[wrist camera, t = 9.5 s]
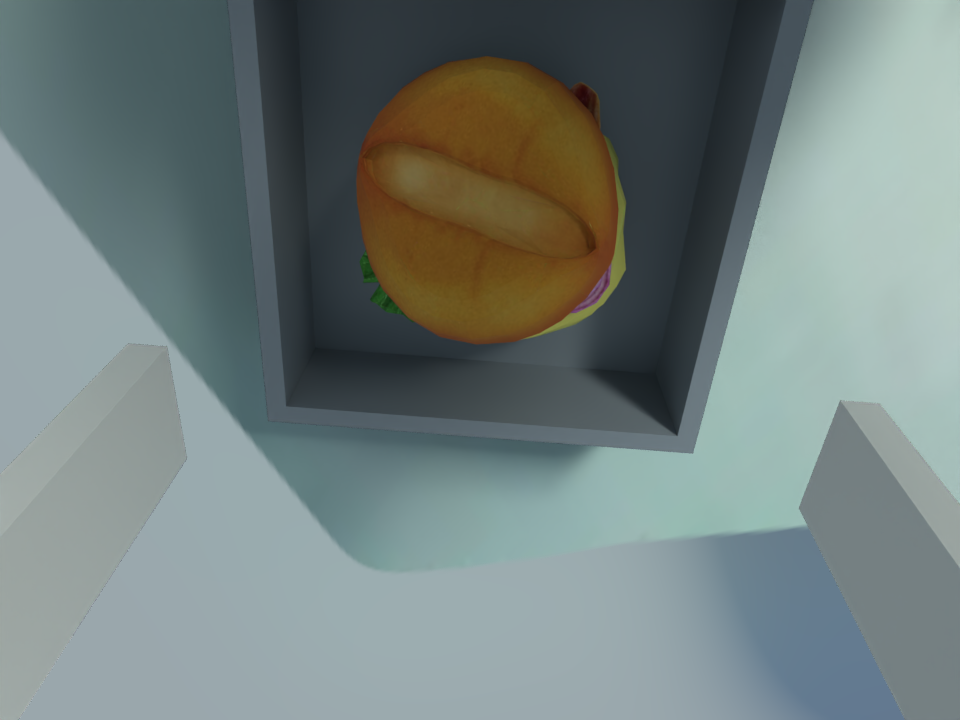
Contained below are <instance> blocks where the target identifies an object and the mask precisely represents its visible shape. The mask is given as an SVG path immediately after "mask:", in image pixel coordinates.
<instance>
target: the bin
mask: <svg viewBox="0 0 960 720" xmlns="http://www.w3.org/2000/svg"><path fill="white" fill-rule="evenodd" d="M813 1H814V0H227V3H228V13H229V24H230V34H231V44H232V55H233V65H234V75H235V85H236V96H237V106H238V116H239V127H240V137H241V147H242V158H243V168H244V178H245V188H246V199H247V209H248V219H249V230H250V240H251V250H252V261H253V271H254V281H255V291H256V302H257V312H258V322H259V333H260V343H261V353H262V364H263V374H264V384H265V394H266V405H267V415H268V421H272V422H285V423H299V424H312V425H325V426H338V427H351V428H364V429H377V430H391V431H404V432H417V433H430V434H443V435H456V436H469V437H483V438H496V439H509V440H522V441H535V442H548V443H561V444H574V445H588V446H601V447H614V448H627V449H640V450H653V451H666V452H680V453H693V451H694V448H695V444H696V440H697V436H698V433H699V429H700V425H701V421H702V418H703V414H704V410H705V406H706V403H707V399H708V395H709V391H710V388H711V384H712V380H713V376H714V373H715V369H716V365H717V361H718V358H719V354H720V350H721V346H722V343H723V339H724V335H725V331H726V328H727V324H728V320H729V316H730V313H731V309H732V305H733V301H734V298H735V294H736V290H737V286H738V283H739V279H740V275H741V271H742V268H743V264H744V260H745V256H746V253H747V249H748V245H749V241H750V238H751V234H752V230H753V226H754V223H755V219H756V215H757V211H758V208H759V204H760V200H761V196H762V193H763V189H764V185H765V181H766V178H767V174H768V170H769V166H770V163H771V159H772V155H773V151H774V148H775V144H776V140H777V136H778V133H779V129H780V125H781V121H782V118H783V114H784V110H785V106H786V103H787V99H788V95H789V91H790V88H791V84H792V80H793V76H794V73H795V69H796V65H797V61H798V58H799V54H800V50H801V46H802V43H803V39H804V35H805V31H806V28H807V24H808V20H809V16H810V13H811V9H812V5H813ZM484 56H490V57H496V58H502V59H508V60H515V61H521V62H527V63H529V64H531V65H533V66H535V67H536V68H538V69H540V70H542V71H543V72H545V73H547V74H549V75H550V76H552V77H554V78H556V79H557V80H559V81H561V82H562V83H564V84H565V85H566V86H567V87H568V89H569V90H570V89H571V88H572V87H573V85H575V84H577V83H579V82H582V83H584V84H586V85H588V86H589V87H591V88H592V89H593V90H594V91H595V92H596V93H597V95H598V98H599V101H600V130H601V132H602V134H603V135H604V136H606V137H607V138H609V139H610V141H611V143H612V146H613V148H614V150H615V152H616V155H617V157H618V176H619V179H620V183H621V186H622V190H623V193H624V196H625V200H626V209H625V219H624V229H623V235H624V250H625V264H626V270H625V272H624V274H623V276H622V278H621V279H620V281H619V283H618V285H617V287H616V288H615V289H614V290H613V292H612V293H611V294H610V296H609V297H608V299H607V300H606V301H605V303H604V304H603V305H601V306H600V307H599V308H597V309H596V310H595V312H594V313H593V314H592V315H590V316H588V317H587V318H585V319H583V320H582V321H580V322H578V323H577V324H575V325H572V326H569V327H566V328H563V329H560V330H557V331H553V332H550V333H547V334H544V335H540V336H537V337H532V338H529V339H522V340H519V341H516V342H506V343H492V344H477V345H476V344H471V343H467V342H462V341H457V340H452V339H447V338H443V337H439V336H438V335H436V334H434V333H433V332H431V331H429V330H428V329H426V328H424V327H423V326H421V325H419V324H418V323H416V322H411V321H410V320H409V319H407V318H406V317H405V316H404V315H400V314H394V313H388V312H386V311H384V310H383V309H382V308H381V307H380V306H379V305H377V304H376V303H373V302H371V301H370V298H371V297H372V295H373V294H374V292H375V291H376V289H377V288H378V286H379V285H380V283H379V282H378V283H363V280H364V276H363V273H362V269H361V266H360V262H359V261H360V260H361V258H362V256H363V254H364V252H365V250H366V249H365V245H364V242H363V238H362V231H361V224H360V217H359V210H358V205H357V183H356V179H357V165H358V159H359V154H360V151H361V147H362V144H363V141H364V139H365V137H366V135H367V133H368V131H369V129H370V127H371V126H372V124H373V122H374V121H375V119H376V117H377V115H378V114H379V113H380V112H381V111H382V110H383V108H384V107H385V106H386V105H387V104H388V103H389V102H390V101H391V100H392V99H393V98H394V97H395V95H396V94H397V93H398V92H399V91H400V90H401V89H402V88H403V87H404V86H406V85H407V84H408V83H410V82H411V81H413V80H414V79H416V78H417V77H419V76H420V75H422V74H423V73H424V72H427V71H429V70H431V69H433V68H436V67H438V66H440V65H443V64H445V63H447V62H450V61H457V60H465V59H472V58H479V57H484Z"/></svg>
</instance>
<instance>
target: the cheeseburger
mask: <svg viewBox="0 0 960 720" xmlns="http://www.w3.org/2000/svg"><path fill="white" fill-rule="evenodd" d="M356 183H357V205H358V210H359V217H360V224H361V231H362V238H363V242H364V245H365V249H366V250H365V252H364V254H363V256H362V258H361V260H360V261H359V262H360V266H361V269H362V273H363V276H364V280H363V283H378V282H379V283H380V285H379V286H378V288H377V289H376V291H375V292H374V294H373V295H372V297H371V298H370V301H371V302H373V303H376V304H377V305H379V306H380V307H381V308H382V309H383V310H384V311H386V312H388V313H394V314H400V315H404V316H405V317H406V318H407V319H409V320H410V321H411V322H416V323H418V324H419V325H421V326H423V327H424V328H426V329H428V330H429V331H431V332H433V333H434V334H436V335H438V336H439V337H443V338H447V339H452V340H457V341H462V342H467V343H471V344H476V345H477V344H492V343H506V342H516V341H519V340H522V339H529V338H532V337H537V336H540V335H544V334H547V333H550V332H553V331H557V330H560V329H563V328H566V327H569V326H572V325H575V324H577V323H578V322H580V321H582V320H583V319H585V318H587V317H588V316H590V315H592V314H593V313H594V312H595V310H596V309H597V308H599V307H600V306H601V305H603V304H604V303H605V301H606V300H607V299H608V297H609V296H610V294H611V293H612V292H613V290H614V289H615V288H616V287H617V285H618V283H619V281H620V279H621V278H622V276H623V274H624V272H625V270H626V264H625V250H624V235H623V229H624V219H625V209H626V200H625V196H624V193H623V190H622V186H621V183H620V179H619V176H618V157H617V155H616V152H615V150H614V148H613V146H612V143H611V141H610V139H609V138H607V137H606V136H604V135H603V134H602V132H601V130H600V101H599V98H598V95H597V93H596V92H595V91H594V90H593V89H592V88H591V87H589V86H588V85H586V84H584V83H582V82H579V83H577V84H575V85H573V87H572V88H571V89H570V90H569V89H568V87H567V86H566V85H565V84H564V83H562V82H561V81H559V80H557V79H556V78H554V77H552V76H550V75H549V74H547V73H545V72H543V71H542V70H540V69H538V68H536V67H535V66H533V65H531V64H529V63H527V62H521V61H515V60H508V59H502V58H496V57H490V56H484V57H479V58H472V59H465V60H457V61H450V62H447V63H445V64H443V65H440V66H438V67H436V68H433V69H431V70H429V71H427V72H424V73H423V74H422V75H420V76H419V77H417V78H416V79H414V80H413V81H411V82H410V83H408V84H407V85H406V86H404V87H403V88H402V89H401V90H400V91H399V92H398V93H397V94H396V95H395V97H394V98H393V99H392V100H391V101H390V102H389V103H388V104H387V105H386V106H385V107H384V108H383V110H382V111H381V112H380V113H379V114H378V115H377V117H376V119H375V121H374V122H373V124H372V126H371V127H370V129H369V131H368V133H367V135H366V137H365V139H364V141H363V144H362V147H361V151H360V154H359V159H358V165H357V179H356Z"/></svg>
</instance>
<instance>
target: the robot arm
mask: <svg viewBox="0 0 960 720" xmlns="http://www.w3.org/2000/svg"><path fill="white" fill-rule="evenodd" d="M186 459H187V456H186V450H185V444H184V439H183V433H182V427H181V422H180V416H179V411H178V405H177V399H176V394H175V388H174V382H173V377H172V371H171V366H170V360H169V354H168V349H167V346H154V345H141V344H127V345H126V346H125V347H124V348H123V349H122V350H121V351H120V352H119V353H118V354H117V355H116V356H115V357H114V358H113V359H112V360H111V361H110V362H109V363H108V365H106V366H105V367H104V368H103V369H102V371H101V372H100V373H99V374H98V375H97V376H96V377H95V378H94V379H93V380H92V381H91V382H90V383H89V384H88V385H87V386H86V387H85V388H84V389H83V390H82V391H81V392H80V393H79V394H78V395H77V396H76V397H75V398H74V399H73V400H72V401H71V402H70V403H69V404H68V405H67V406H66V407H65V408H64V409H63V410H62V411H61V412H60V413H59V414H58V415H57V416H56V417H55V419H54V420H53V421H52V422H51V423H50V424H49V425H48V426H47V427H46V428H45V429H44V430H43V431H42V432H41V433H40V434H39V435H38V436H37V437H36V438H35V439H34V440H33V441H32V442H31V443H30V444H29V445H28V446H27V447H26V448H25V449H24V450H23V451H22V452H21V453H20V454H19V455H18V456H17V457H16V458H15V459H14V460H13V462H11V464H10V465H8V466H7V467H6V468H5V470H4V471H3V472H2V473H1V474H0V720H19V719H20V717H21V715H22V714H23V712H24V711H25V709H26V708H27V706H28V705H29V703H30V702H31V700H32V698H33V697H34V695H35V694H36V692H37V691H38V689H39V687H40V686H41V684H42V683H43V681H44V679H45V678H46V676H47V675H48V674H49V672H50V670H51V669H52V667H53V666H54V664H55V662H56V661H57V660H58V658H59V656H60V655H61V653H62V652H63V650H64V649H65V647H66V646H67V644H68V643H69V641H70V639H71V638H72V636H73V635H74V633H75V632H76V630H77V628H78V627H79V625H80V624H81V622H82V620H83V619H84V618H85V616H86V615H87V613H88V611H89V610H90V608H91V607H92V605H93V604H94V602H95V601H96V599H97V597H98V596H99V594H100V593H101V591H102V590H103V588H104V587H105V585H106V584H107V582H108V580H109V579H110V577H111V576H112V574H113V573H114V571H115V570H116V568H117V566H118V565H119V563H120V562H121V560H122V559H123V557H124V556H125V554H126V552H127V551H128V549H129V548H130V546H131V544H132V543H133V541H134V540H135V539H136V537H137V535H138V534H139V532H140V531H141V529H142V528H143V526H144V524H145V523H146V521H147V520H148V518H149V517H150V515H151V514H152V512H153V511H154V509H155V507H156V506H157V504H158V503H159V501H160V500H161V498H162V497H163V495H164V494H165V492H166V490H167V489H168V487H169V486H170V484H171V483H172V481H173V479H174V478H175V476H176V475H177V473H178V472H179V470H180V469H181V467H182V466H183V464H184V462H185V461H186ZM799 509H800V511H801V513H802V515H803V517H804V519H805V521H806V523H807V525H808V527H809V529H810V531H811V533H812V535H813V537H814V539H815V541H816V543H817V545H818V547H819V549H820V551H821V553H822V555H823V557H824V559H825V561H826V563H827V565H828V567H829V569H830V571H831V573H832V575H833V577H834V579H835V581H836V583H837V585H838V587H839V589H840V591H841V593H842V595H843V597H844V599H845V601H846V603H847V605H848V607H849V609H850V611H851V613H852V615H853V617H854V619H855V621H856V623H857V625H858V627H859V629H860V631H861V633H862V635H863V637H864V639H865V641H866V643H867V645H868V647H869V649H870V651H871V653H872V655H873V657H874V659H875V661H876V663H877V665H878V667H879V669H880V671H881V673H882V675H883V677H884V679H885V681H886V682H887V685H888V686H889V689H890V691H891V692H892V695H893V697H894V699H895V700H896V703H897V705H898V707H899V709H900V711H901V713H902V715H903V716H904V718H905V720H960V504H959V503H958V502H957V500H956V499H955V498H954V496H953V495H952V494H951V493H950V491H949V490H948V489H947V488H946V486H945V485H944V484H943V483H942V481H941V480H940V479H939V478H938V476H937V475H936V474H935V473H934V471H933V470H932V469H931V468H930V466H929V465H928V464H927V462H926V461H925V460H924V459H923V457H922V456H921V455H920V454H919V452H918V451H917V450H916V449H915V447H914V446H913V445H912V444H911V442H910V441H909V440H908V439H907V437H906V436H905V435H904V433H903V432H902V431H901V430H900V428H899V427H898V426H897V425H896V423H895V422H894V421H893V420H892V418H891V417H890V416H889V415H888V413H887V412H886V411H885V410H884V408H883V407H882V406H881V405H880V404H879V403H867V402H854V401H842V400H840V402H839V405H838V408H837V410H836V413H835V415H834V418H833V421H832V423H831V426H830V428H829V431H828V434H827V436H826V439H825V441H824V444H823V447H822V449H821V452H820V454H819V457H818V460H817V462H816V465H815V467H814V470H813V472H812V475H811V478H810V480H809V483H808V485H807V488H806V491H805V493H804V496H803V498H802V501H801V504H800V506H799Z"/></svg>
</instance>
